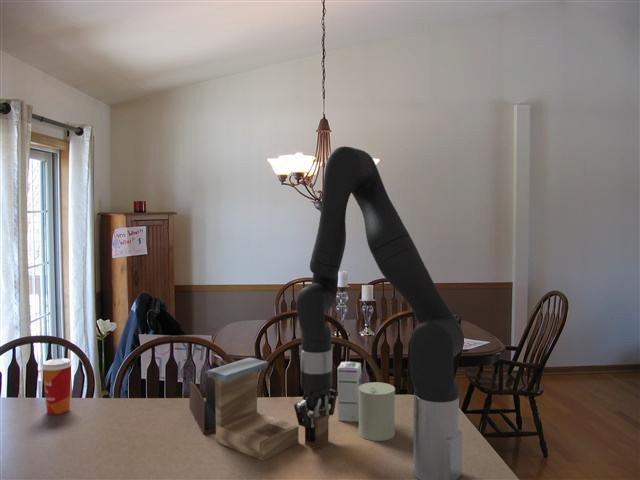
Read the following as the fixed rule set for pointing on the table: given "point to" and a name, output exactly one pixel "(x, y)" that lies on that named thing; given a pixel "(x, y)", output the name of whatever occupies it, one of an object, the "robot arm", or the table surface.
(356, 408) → the syrup box
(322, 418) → the peg
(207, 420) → the letter holder
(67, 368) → the paper cup
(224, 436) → the socket stand
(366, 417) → the can
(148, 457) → the table surface
